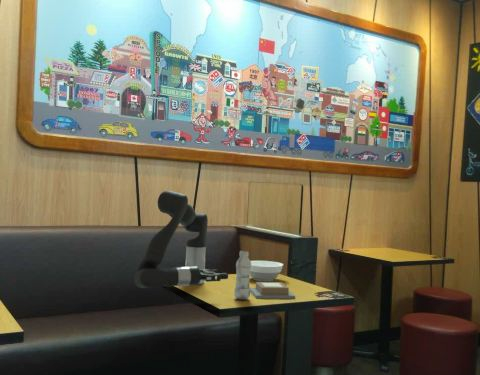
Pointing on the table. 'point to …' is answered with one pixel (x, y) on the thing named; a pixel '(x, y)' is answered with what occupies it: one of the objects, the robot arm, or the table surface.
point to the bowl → (265, 270)
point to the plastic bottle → (242, 276)
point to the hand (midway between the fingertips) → (222, 274)
